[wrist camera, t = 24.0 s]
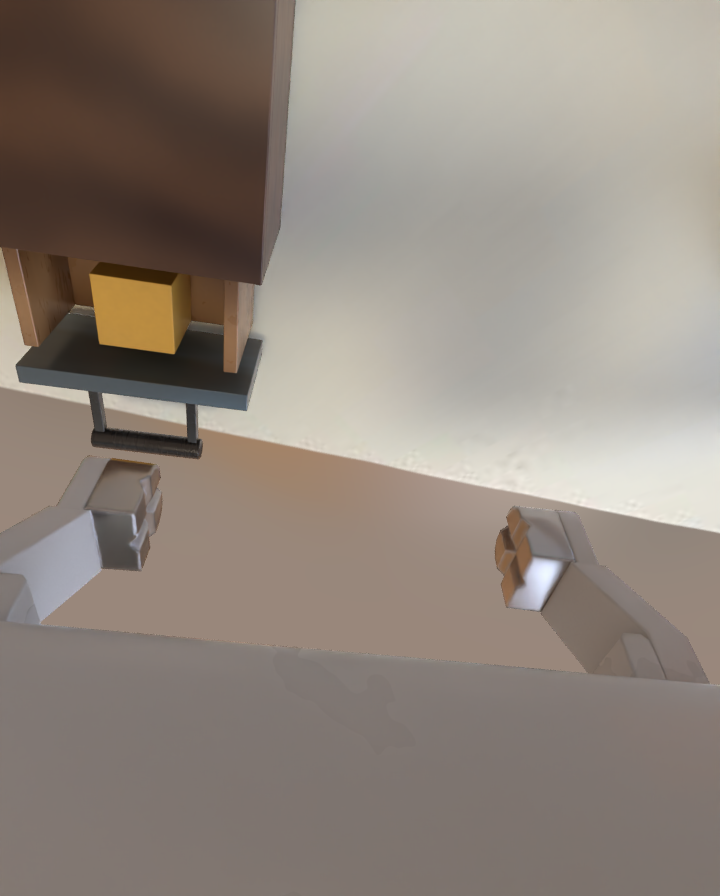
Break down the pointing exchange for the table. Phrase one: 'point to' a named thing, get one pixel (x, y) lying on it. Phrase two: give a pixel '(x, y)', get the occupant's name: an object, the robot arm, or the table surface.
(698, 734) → the robot arm
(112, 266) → the block
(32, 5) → the cabinet
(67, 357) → the drawer
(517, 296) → the table surface
